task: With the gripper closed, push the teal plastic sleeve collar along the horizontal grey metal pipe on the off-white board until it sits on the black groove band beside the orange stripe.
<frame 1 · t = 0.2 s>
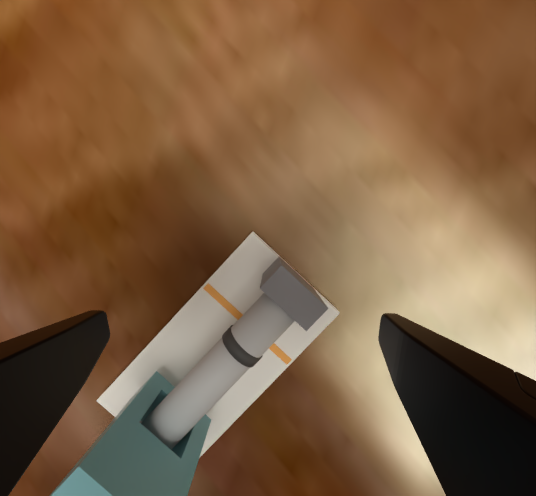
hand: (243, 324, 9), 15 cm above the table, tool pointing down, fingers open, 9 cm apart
pipe rig: (218, 351, 25), on the table
sleeve collar: (146, 452, 18), point 7 cm above the table, slide at 0.0 cm
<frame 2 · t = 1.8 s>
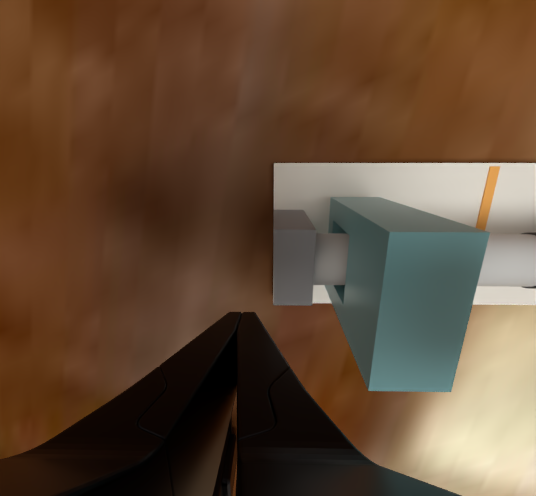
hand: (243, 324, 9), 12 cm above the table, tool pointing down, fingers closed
pipe rig: (410, 234, 20), on the table
sleeve collar: (375, 269, 13), point 7 cm above the table, slide at 0.0 cm
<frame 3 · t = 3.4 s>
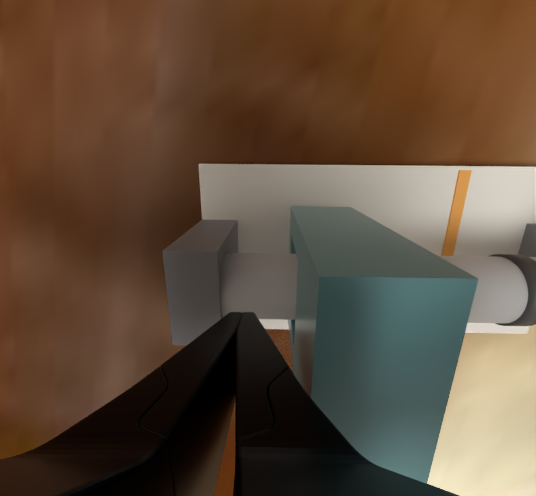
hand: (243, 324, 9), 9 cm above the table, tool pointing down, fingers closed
pipe rig: (369, 249, 17), on the table
sleeve collar: (334, 303, 10), point 7 cm above the table, slide at 1.4 cm, touching gripper
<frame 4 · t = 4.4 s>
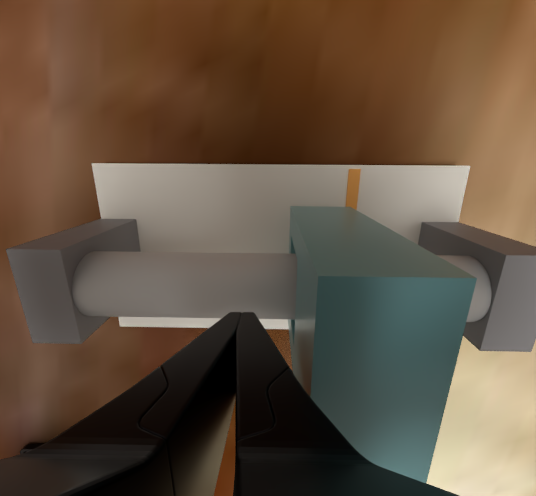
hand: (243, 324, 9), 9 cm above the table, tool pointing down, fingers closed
pipe rig: (277, 248, 17), on the table
sleeve collar: (334, 303, 10), point 7 cm above the table, slide at 7.1 cm, touching gripper
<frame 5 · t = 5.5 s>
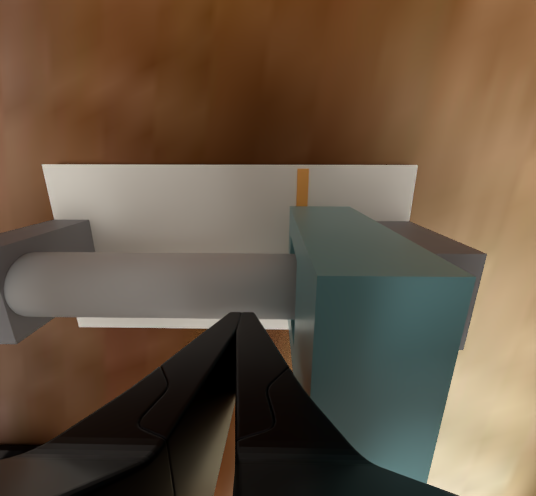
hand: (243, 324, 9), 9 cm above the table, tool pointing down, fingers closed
pipe rig: (234, 248, 17), on the table
sleeve collar: (334, 303, 10), point 7 cm above the table, slide at 9.8 cm, touching gripper
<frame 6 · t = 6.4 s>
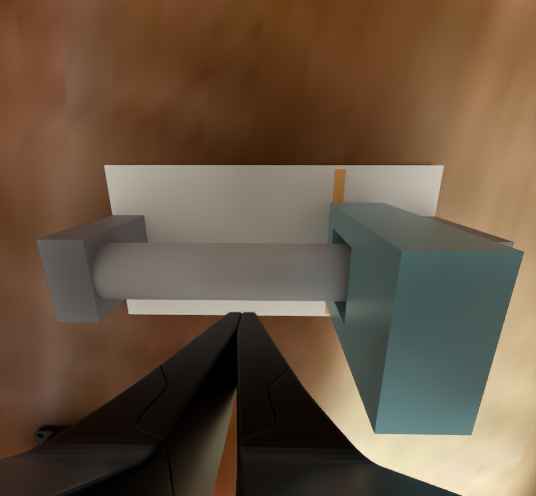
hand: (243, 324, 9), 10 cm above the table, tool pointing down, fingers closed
pipe rig: (271, 241, 19), on the table
sleeve collar: (380, 285, 12), point 7 cm above the table, slide at 9.8 cm
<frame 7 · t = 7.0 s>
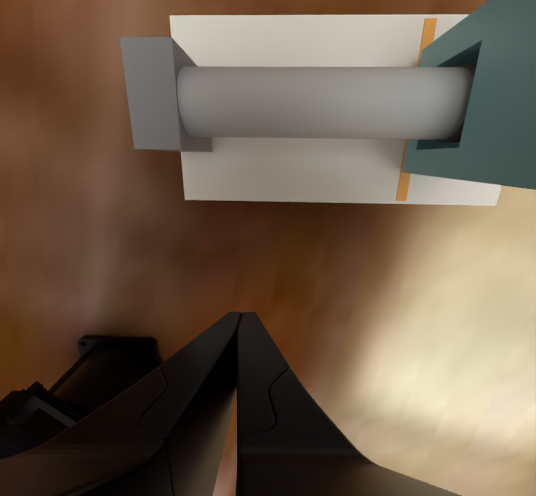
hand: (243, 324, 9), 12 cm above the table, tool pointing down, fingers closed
pipe rig: (340, 120, 17), on the table
sleeve collar: (504, 98, 11), point 7 cm above the table, slide at 9.8 cm
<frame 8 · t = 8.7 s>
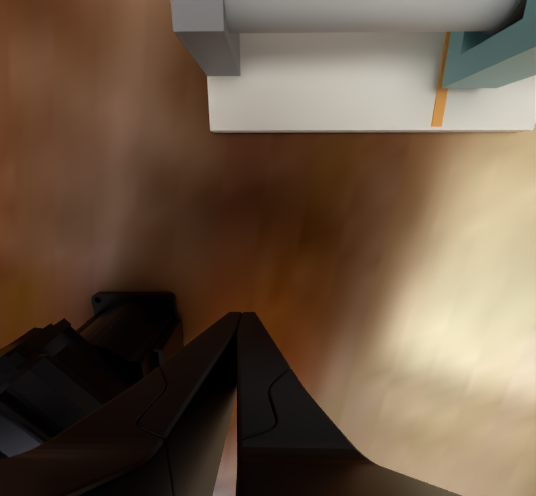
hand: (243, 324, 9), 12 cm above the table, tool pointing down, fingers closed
pipe rig: (372, 43, 17), on the table
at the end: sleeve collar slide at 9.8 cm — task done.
